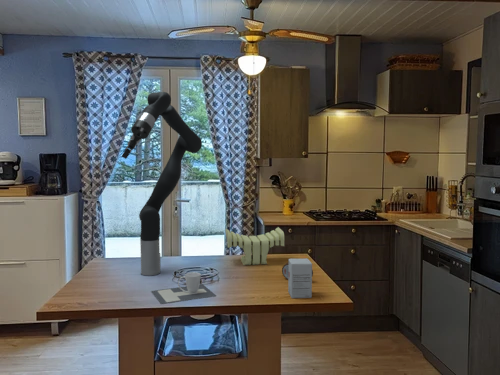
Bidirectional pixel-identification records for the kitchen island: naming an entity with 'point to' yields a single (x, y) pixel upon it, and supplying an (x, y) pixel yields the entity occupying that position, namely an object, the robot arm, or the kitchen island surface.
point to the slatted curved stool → (255, 245)
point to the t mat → (181, 294)
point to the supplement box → (300, 278)
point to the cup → (191, 282)
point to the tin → (285, 270)
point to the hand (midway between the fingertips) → (126, 153)
